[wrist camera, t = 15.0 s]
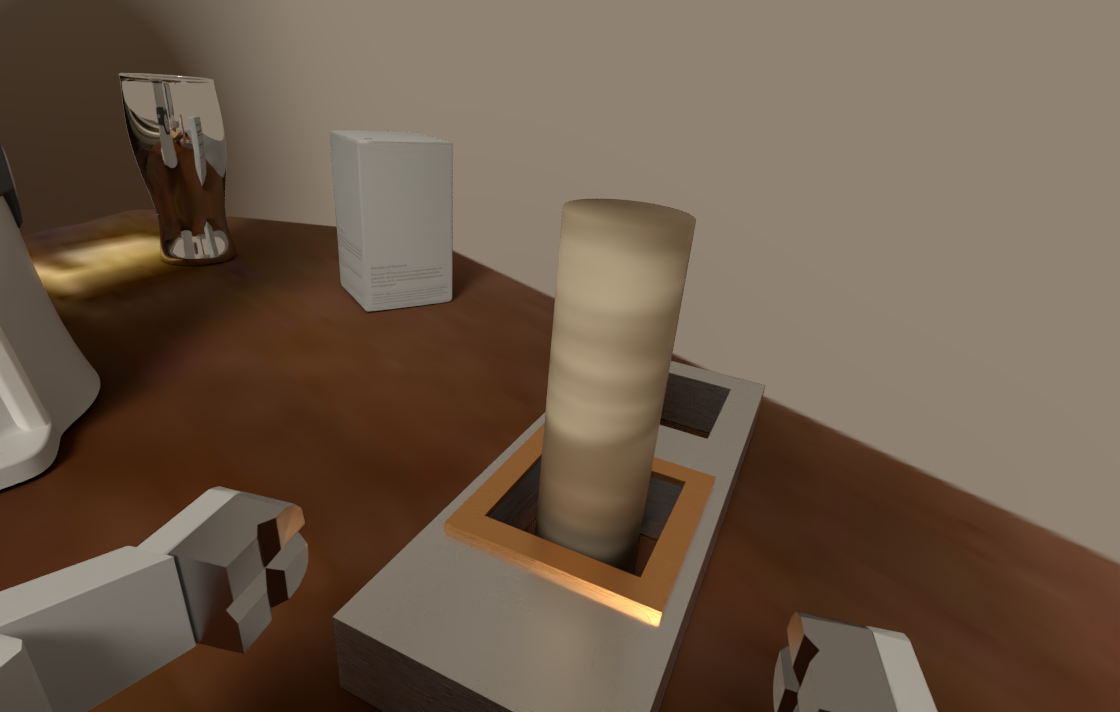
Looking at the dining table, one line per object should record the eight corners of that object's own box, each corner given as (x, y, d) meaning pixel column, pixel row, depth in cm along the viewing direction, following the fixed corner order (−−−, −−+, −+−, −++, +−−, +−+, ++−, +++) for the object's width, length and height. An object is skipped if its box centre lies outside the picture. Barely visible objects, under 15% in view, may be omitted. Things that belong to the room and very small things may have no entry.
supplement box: (454, 302, 49) (456, 141, 44) (364, 314, 46) (354, 139, 40) (421, 276, 55) (419, 130, 50) (338, 284, 51) (326, 127, 46)
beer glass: (218, 242, 59) (191, 75, 53) (257, 258, 56) (233, 81, 49) (140, 254, 54) (99, 71, 48) (177, 272, 50) (138, 77, 44)
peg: (590, 623, 21) (647, 234, 15) (512, 563, 24) (535, 205, 18) (652, 565, 24) (720, 218, 18) (576, 517, 26) (615, 195, 21)
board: (613, 844, 15) (630, 764, 14) (340, 686, 18) (331, 609, 17) (753, 431, 34) (766, 380, 33) (608, 389, 38) (614, 341, 36)
